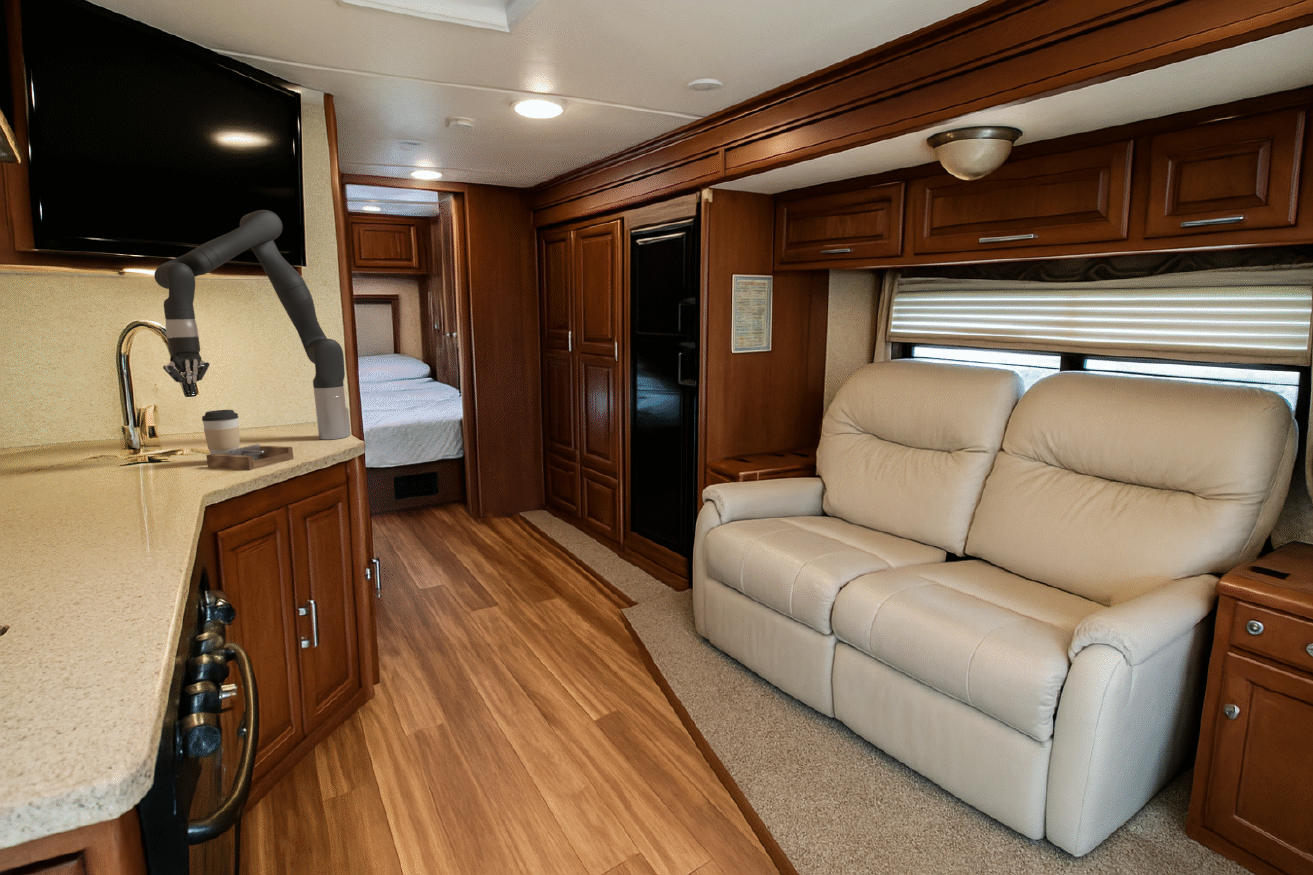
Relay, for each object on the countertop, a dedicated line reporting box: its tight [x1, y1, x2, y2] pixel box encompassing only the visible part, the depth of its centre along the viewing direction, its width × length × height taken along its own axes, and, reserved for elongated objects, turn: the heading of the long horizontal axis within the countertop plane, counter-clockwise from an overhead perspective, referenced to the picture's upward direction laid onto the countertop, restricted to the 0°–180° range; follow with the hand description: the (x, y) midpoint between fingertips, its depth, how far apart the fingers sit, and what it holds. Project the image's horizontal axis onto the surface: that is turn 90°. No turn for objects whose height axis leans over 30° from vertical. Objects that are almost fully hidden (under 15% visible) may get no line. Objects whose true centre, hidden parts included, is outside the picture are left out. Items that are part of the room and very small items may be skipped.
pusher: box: [223, 443, 265, 461], centre depth 200 cm, size 8×11×4 cm
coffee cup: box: [201, 409, 241, 455], centre depth 203 cm, size 9×9×15 cm
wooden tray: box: [205, 444, 294, 471], centre depth 201 cm, size 15×15×4 cm
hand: (191, 396), depth 204 cm, fingers closed
